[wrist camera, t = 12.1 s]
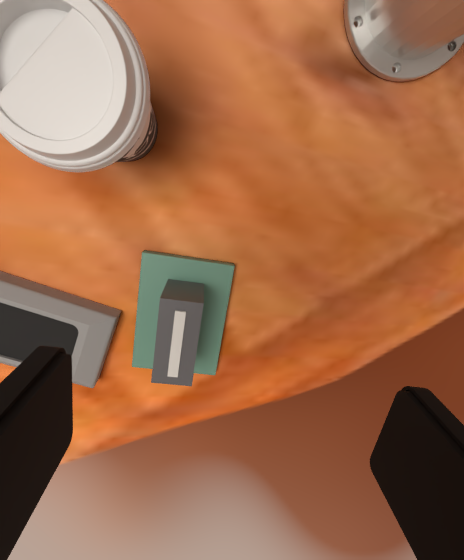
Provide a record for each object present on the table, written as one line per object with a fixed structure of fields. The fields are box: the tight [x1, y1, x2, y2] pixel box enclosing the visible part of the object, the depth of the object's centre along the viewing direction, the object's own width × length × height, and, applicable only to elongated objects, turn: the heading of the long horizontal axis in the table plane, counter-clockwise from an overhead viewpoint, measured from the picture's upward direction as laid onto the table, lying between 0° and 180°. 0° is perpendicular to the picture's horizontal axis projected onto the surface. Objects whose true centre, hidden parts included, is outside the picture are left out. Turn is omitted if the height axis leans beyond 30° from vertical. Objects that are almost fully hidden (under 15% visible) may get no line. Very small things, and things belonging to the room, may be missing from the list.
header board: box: [132, 250, 235, 375], centre depth 34 cm, size 14×10×5 cm
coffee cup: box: [0, 0, 158, 172], centre depth 23 cm, size 10×10×15 cm
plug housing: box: [151, 279, 204, 386], centre depth 32 cm, size 9×4×6 cm, turn 171°
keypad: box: [0, 271, 121, 388], centre depth 34 cm, size 10×4×15 cm
